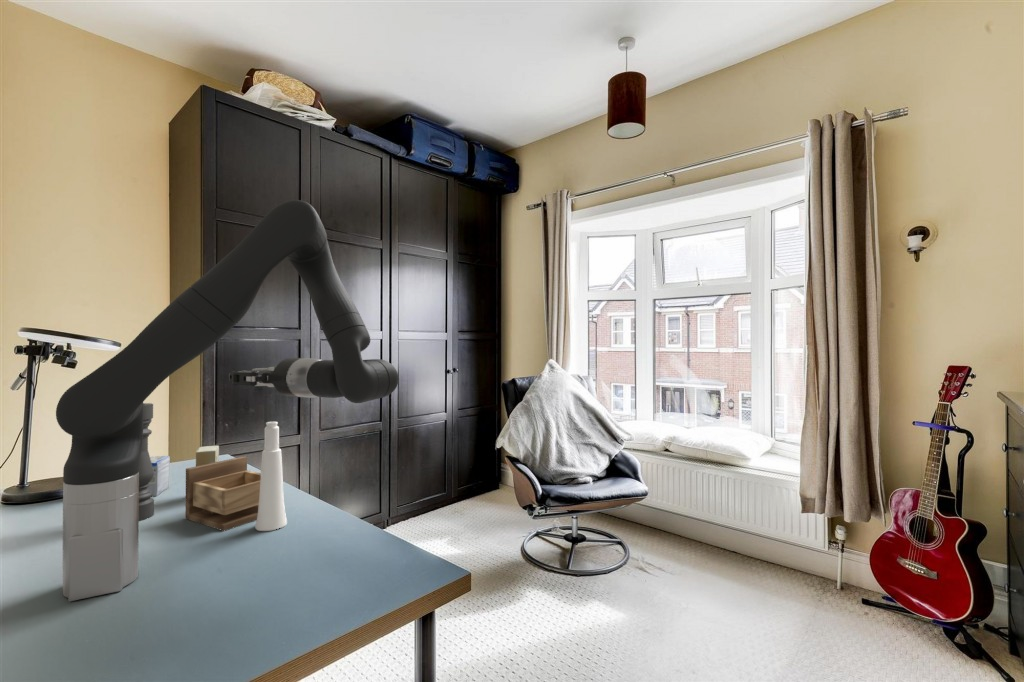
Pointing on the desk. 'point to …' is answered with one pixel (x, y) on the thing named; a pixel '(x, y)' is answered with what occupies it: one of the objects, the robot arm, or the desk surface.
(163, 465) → the medicine box
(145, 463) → the candle holder
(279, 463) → the cosmetic bottle
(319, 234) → the robot arm
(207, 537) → the desk surface
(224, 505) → the wooden box caddy
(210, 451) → the skincare box
